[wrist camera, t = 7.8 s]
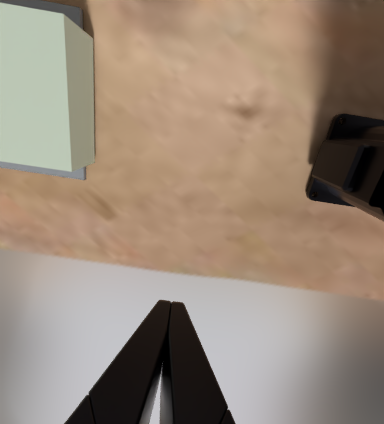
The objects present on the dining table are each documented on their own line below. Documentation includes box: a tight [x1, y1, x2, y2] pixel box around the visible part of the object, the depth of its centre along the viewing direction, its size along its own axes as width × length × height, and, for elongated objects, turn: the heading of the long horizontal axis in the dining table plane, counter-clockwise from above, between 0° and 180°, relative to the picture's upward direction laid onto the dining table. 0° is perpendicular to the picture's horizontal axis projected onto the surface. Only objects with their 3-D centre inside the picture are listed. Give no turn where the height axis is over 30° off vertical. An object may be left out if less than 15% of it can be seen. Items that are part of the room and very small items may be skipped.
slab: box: [0, 3, 95, 172], centre depth 14 cm, size 4×8×8 cm
